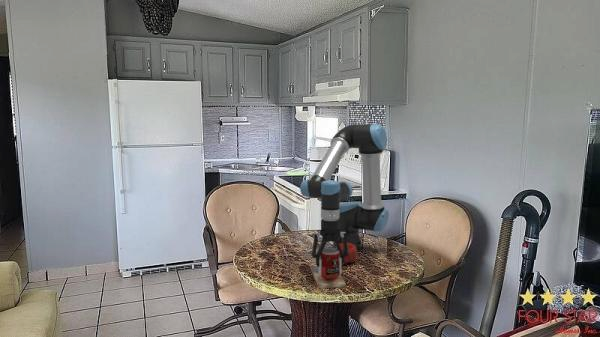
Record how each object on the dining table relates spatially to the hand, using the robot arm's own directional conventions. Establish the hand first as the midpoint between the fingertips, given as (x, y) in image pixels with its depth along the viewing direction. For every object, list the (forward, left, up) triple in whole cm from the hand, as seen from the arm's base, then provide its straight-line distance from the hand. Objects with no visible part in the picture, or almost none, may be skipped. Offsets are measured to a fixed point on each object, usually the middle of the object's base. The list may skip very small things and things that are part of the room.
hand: (329, 273), depth 175 cm
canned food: (0, 0, -1) cm, 1 cm away
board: (0, -5, -4) cm, 7 cm away
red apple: (-12, -22, -4) cm, 26 cm away
